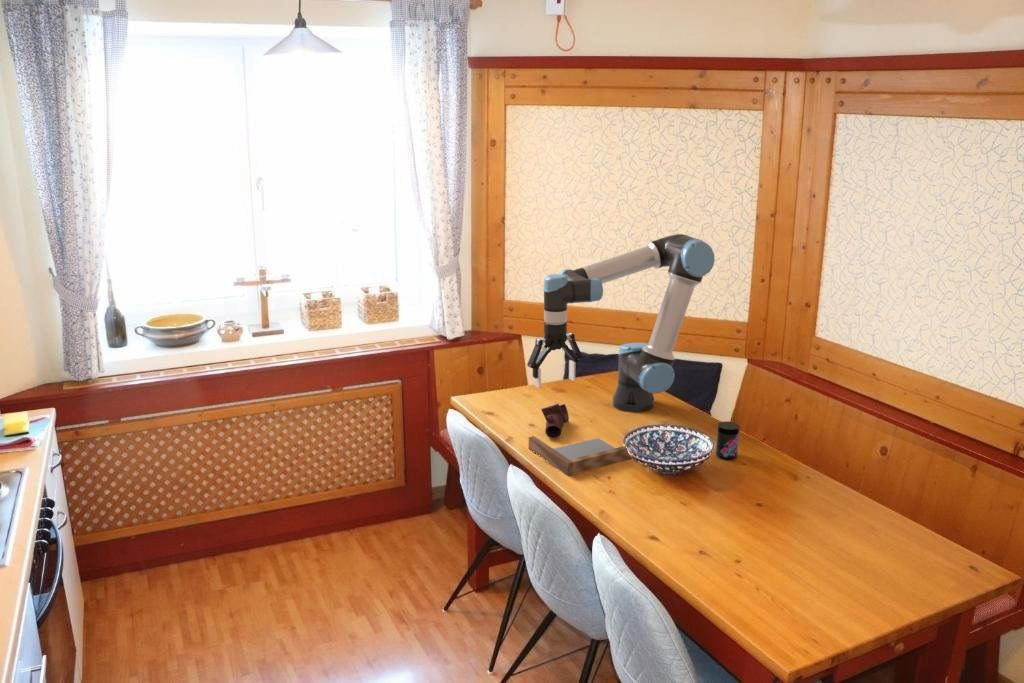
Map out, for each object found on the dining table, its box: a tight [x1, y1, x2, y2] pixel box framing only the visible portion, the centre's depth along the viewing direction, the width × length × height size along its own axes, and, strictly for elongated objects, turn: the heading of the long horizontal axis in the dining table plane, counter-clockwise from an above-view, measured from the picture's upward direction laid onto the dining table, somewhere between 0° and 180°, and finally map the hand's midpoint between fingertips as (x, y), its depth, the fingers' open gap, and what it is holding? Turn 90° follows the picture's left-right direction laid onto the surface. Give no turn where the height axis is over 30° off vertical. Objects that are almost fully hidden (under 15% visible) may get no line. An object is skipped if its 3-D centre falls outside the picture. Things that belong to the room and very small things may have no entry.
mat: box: [553, 437, 616, 460], centre depth 276 cm, size 20×11×1 cm, turn 119°
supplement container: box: [715, 420, 741, 461], centre depth 270 cm, size 7×7×10 cm
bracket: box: [540, 402, 570, 439], centre depth 292 cm, size 6×17×10 cm, turn 174°
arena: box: [528, 435, 633, 477], centre depth 273 cm, size 24×23×4 cm
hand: (555, 383), depth 288 cm, fingers open, 13 cm apart
